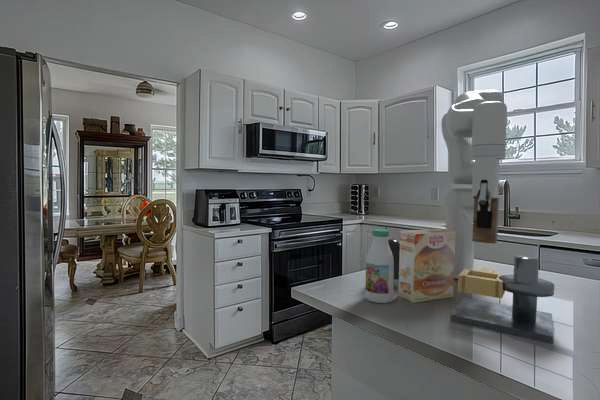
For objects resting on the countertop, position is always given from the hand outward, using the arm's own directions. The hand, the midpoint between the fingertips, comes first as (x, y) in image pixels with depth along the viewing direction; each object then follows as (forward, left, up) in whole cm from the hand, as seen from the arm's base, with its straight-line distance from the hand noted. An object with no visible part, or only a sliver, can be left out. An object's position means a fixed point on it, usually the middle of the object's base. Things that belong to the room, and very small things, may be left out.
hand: (485, 226), depth 86 cm
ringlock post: (+4, 0, -23) cm, 23 cm away
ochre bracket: (0, +3, -16) cm, 16 cm away
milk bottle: (-26, -4, -23) cm, 35 cm away
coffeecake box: (-16, +7, -23) cm, 28 cm away
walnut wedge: (0, 0, -4) cm, 4 cm away
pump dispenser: (-28, +11, -23) cm, 37 cm away
